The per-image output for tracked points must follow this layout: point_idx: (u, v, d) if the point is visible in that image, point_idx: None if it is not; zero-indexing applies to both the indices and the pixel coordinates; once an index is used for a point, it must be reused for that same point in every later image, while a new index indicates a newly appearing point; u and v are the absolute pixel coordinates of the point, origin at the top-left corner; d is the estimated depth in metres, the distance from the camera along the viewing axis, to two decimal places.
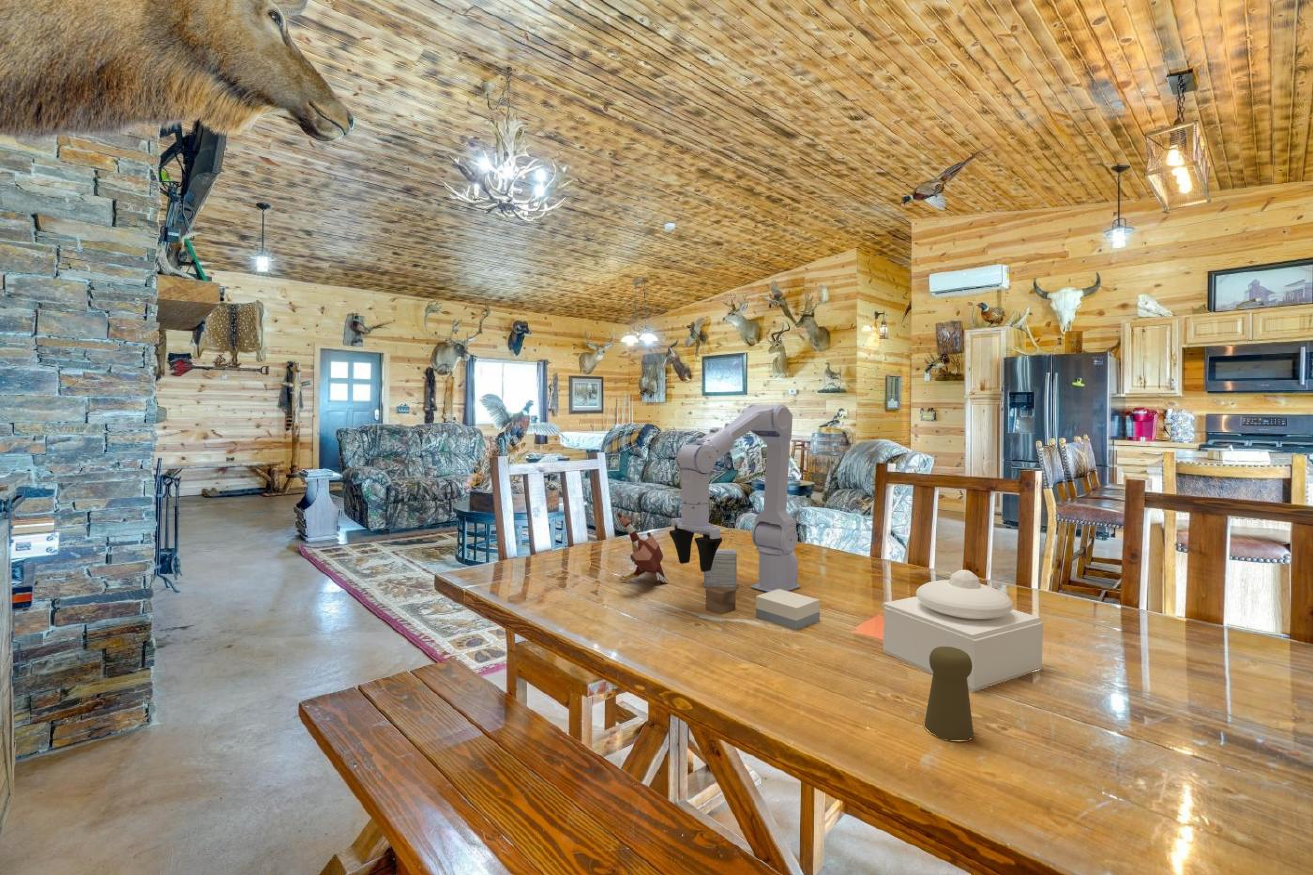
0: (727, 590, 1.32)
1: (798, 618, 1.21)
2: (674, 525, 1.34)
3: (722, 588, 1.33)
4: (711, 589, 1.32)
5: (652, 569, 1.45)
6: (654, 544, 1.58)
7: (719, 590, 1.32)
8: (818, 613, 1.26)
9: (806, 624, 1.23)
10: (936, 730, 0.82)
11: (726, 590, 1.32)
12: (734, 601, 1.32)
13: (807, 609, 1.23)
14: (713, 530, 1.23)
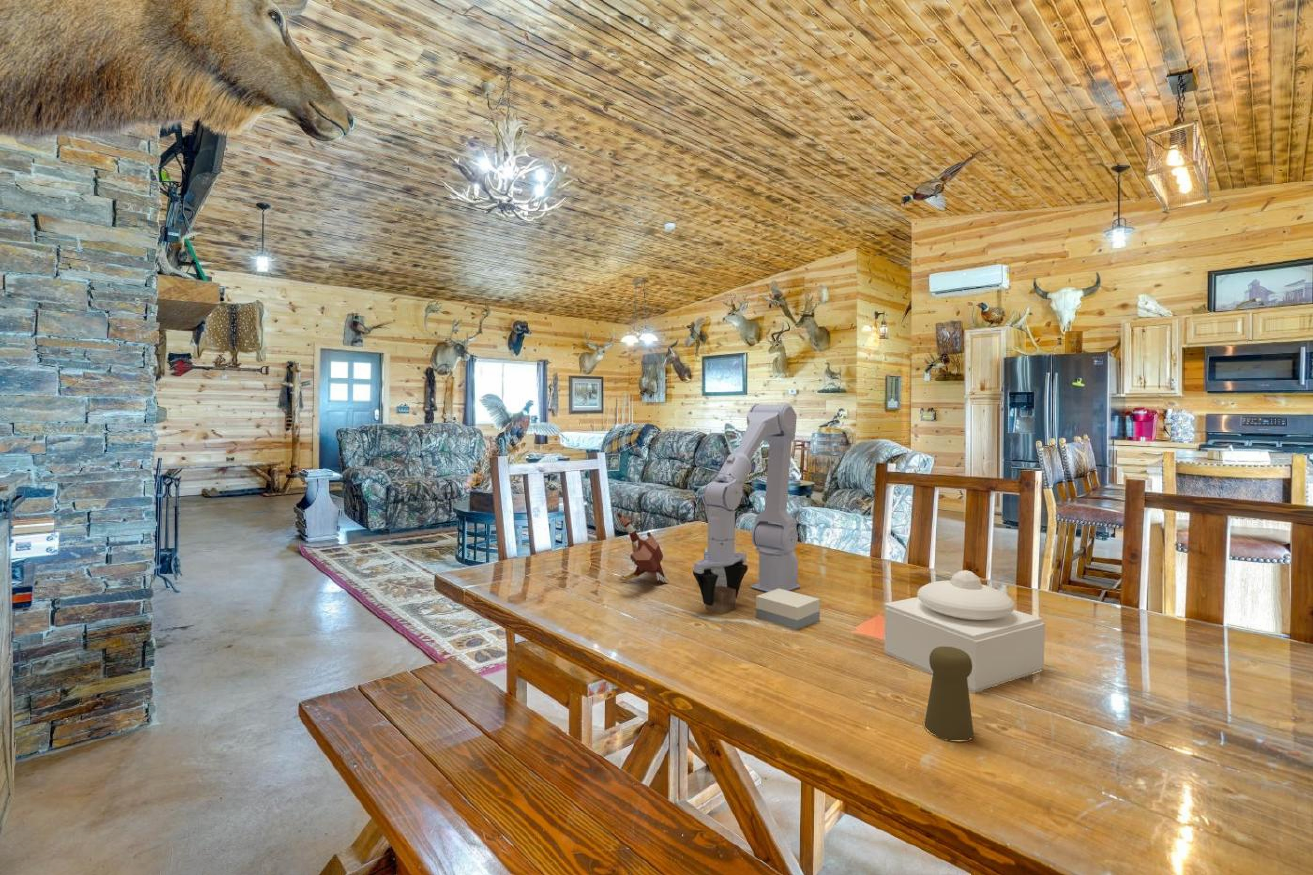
0: (727, 590, 1.32)
1: (799, 617, 1.21)
2: None
3: (722, 588, 1.33)
4: None
5: (652, 569, 1.45)
6: (654, 544, 1.58)
7: (719, 590, 1.32)
8: (818, 612, 1.26)
9: (806, 623, 1.23)
10: (936, 730, 0.82)
11: (726, 590, 1.32)
12: (734, 601, 1.32)
13: (808, 609, 1.23)
14: (694, 563, 1.28)
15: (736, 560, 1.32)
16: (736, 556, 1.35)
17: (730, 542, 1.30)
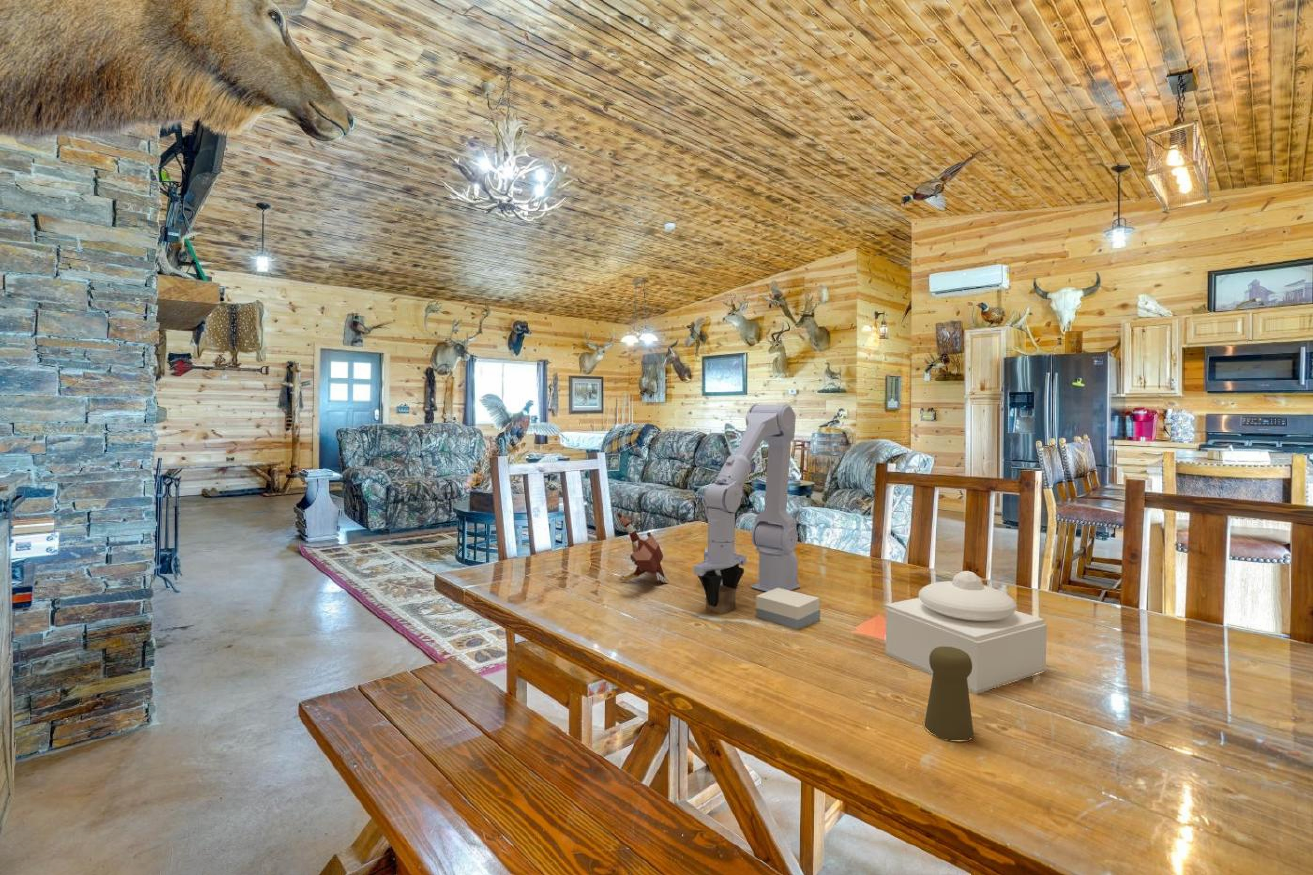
0: (727, 590, 1.32)
1: (800, 617, 1.21)
2: None
3: (722, 588, 1.33)
4: None
5: (652, 569, 1.45)
6: (654, 544, 1.58)
7: (719, 590, 1.32)
8: (818, 612, 1.26)
9: (807, 623, 1.23)
10: (936, 730, 0.82)
11: (726, 589, 1.32)
12: (734, 601, 1.32)
13: (808, 608, 1.23)
14: (694, 566, 1.28)
15: (736, 562, 1.32)
16: (736, 558, 1.35)
17: (730, 544, 1.30)
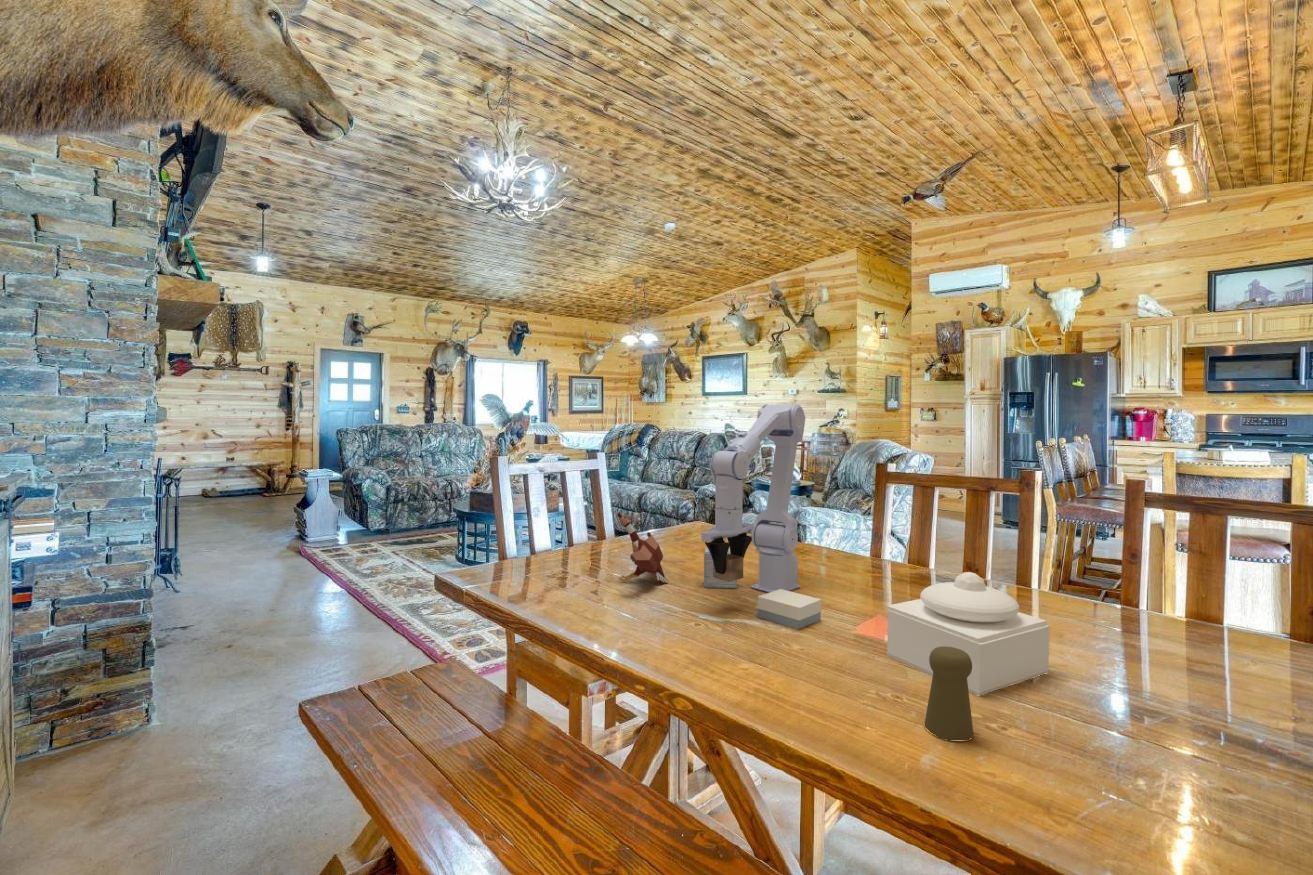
0: (735, 557, 1.31)
1: (801, 618, 1.21)
2: None
3: (729, 556, 1.32)
4: None
5: (652, 569, 1.45)
6: (654, 544, 1.58)
7: (727, 557, 1.31)
8: (819, 612, 1.26)
9: (807, 623, 1.23)
10: (936, 730, 0.82)
11: (733, 557, 1.31)
12: (742, 569, 1.31)
13: (810, 609, 1.23)
14: (702, 533, 1.27)
15: (744, 530, 1.31)
16: (744, 526, 1.34)
17: (738, 511, 1.29)
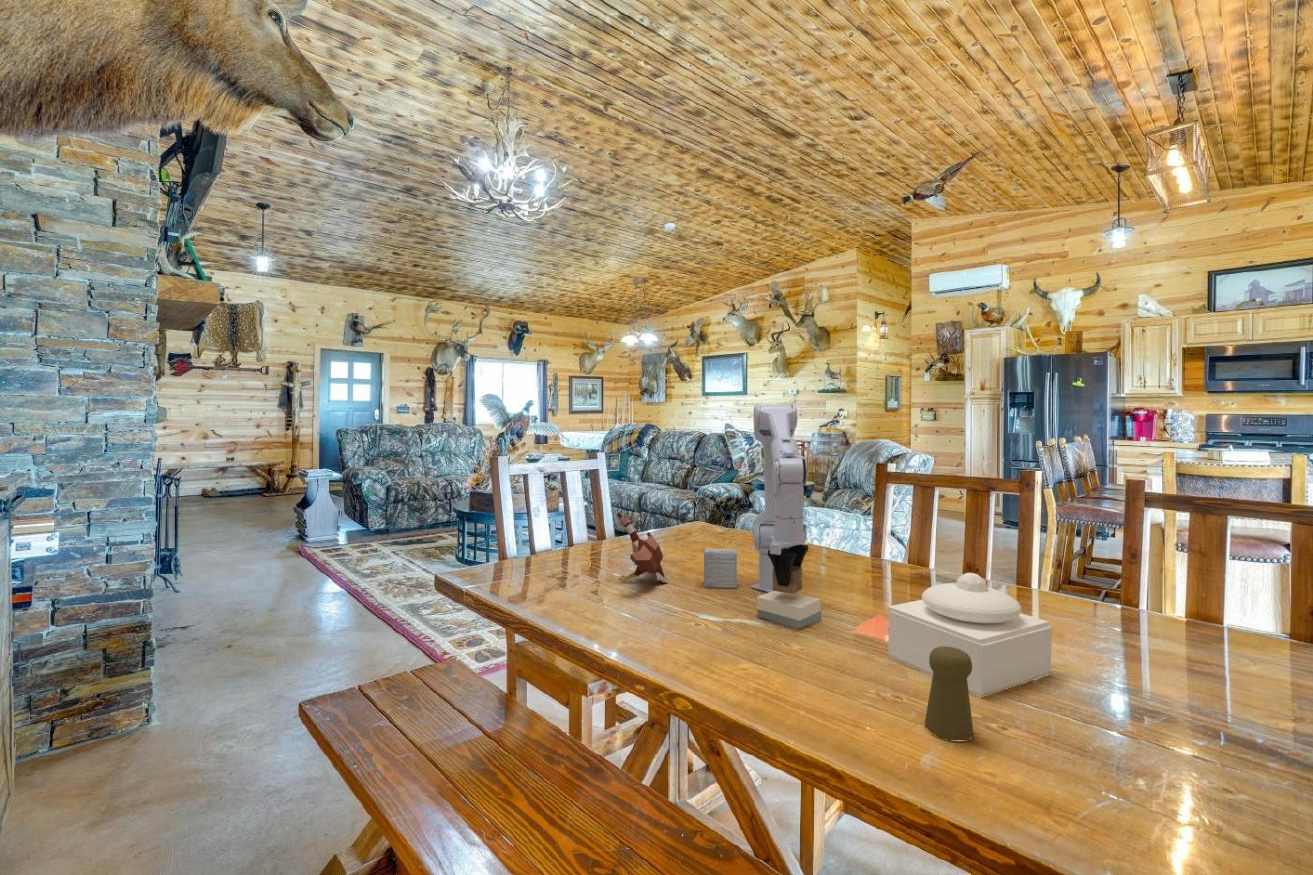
0: (795, 568, 1.26)
1: (801, 618, 1.21)
2: None
3: None
4: None
5: (652, 569, 1.45)
6: (654, 544, 1.58)
7: None
8: (819, 612, 1.26)
9: (807, 623, 1.23)
10: (936, 730, 0.82)
11: (793, 568, 1.26)
12: (801, 579, 1.27)
13: (810, 609, 1.23)
14: (771, 545, 1.21)
15: None
16: None
17: (801, 520, 1.24)
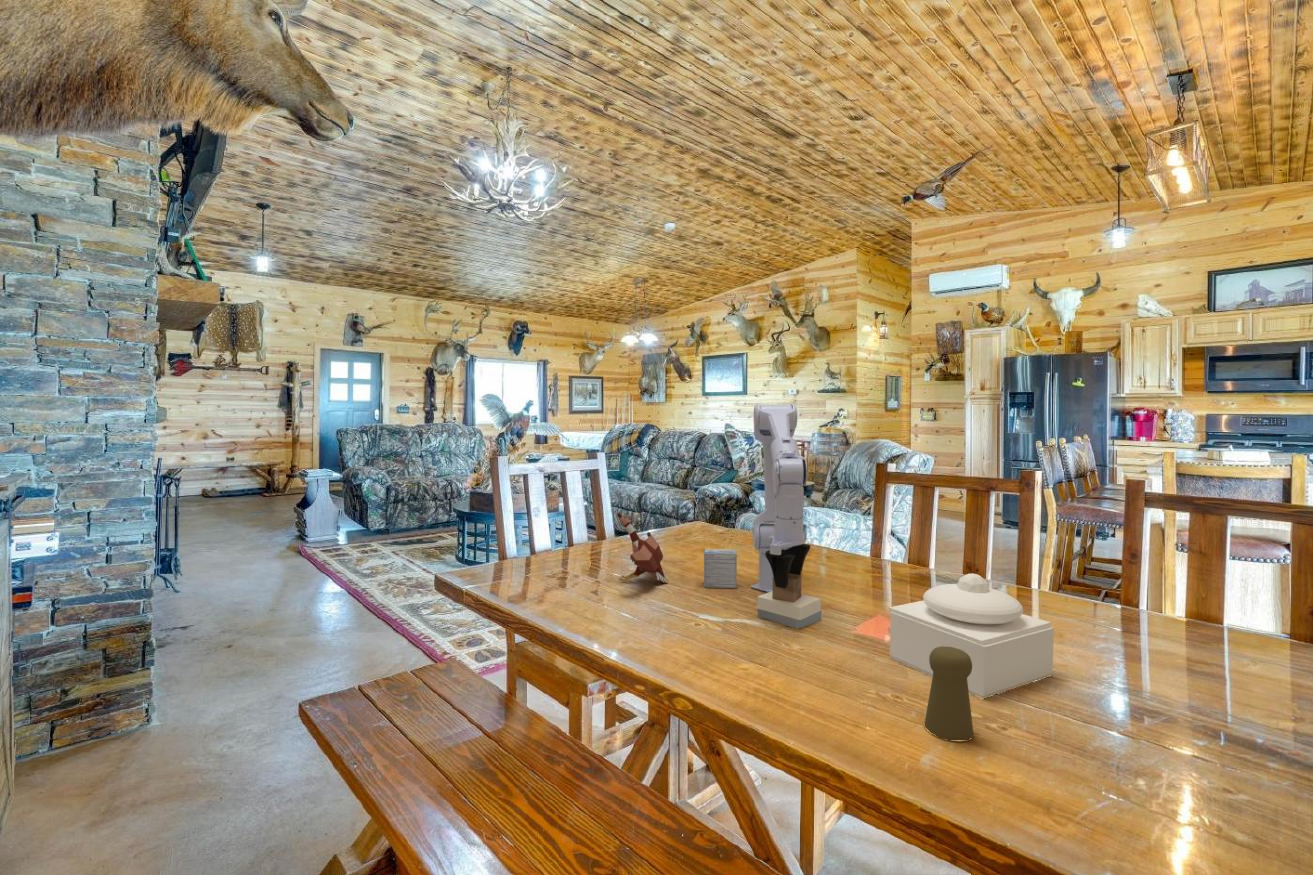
0: (795, 576, 1.26)
1: (801, 617, 1.21)
2: None
3: None
4: None
5: (652, 569, 1.45)
6: (654, 544, 1.58)
7: None
8: (820, 612, 1.26)
9: (808, 623, 1.23)
10: (936, 730, 0.82)
11: (793, 576, 1.26)
12: (800, 587, 1.27)
13: (810, 609, 1.24)
14: (771, 545, 1.21)
15: (803, 539, 1.27)
16: None
17: (801, 521, 1.24)
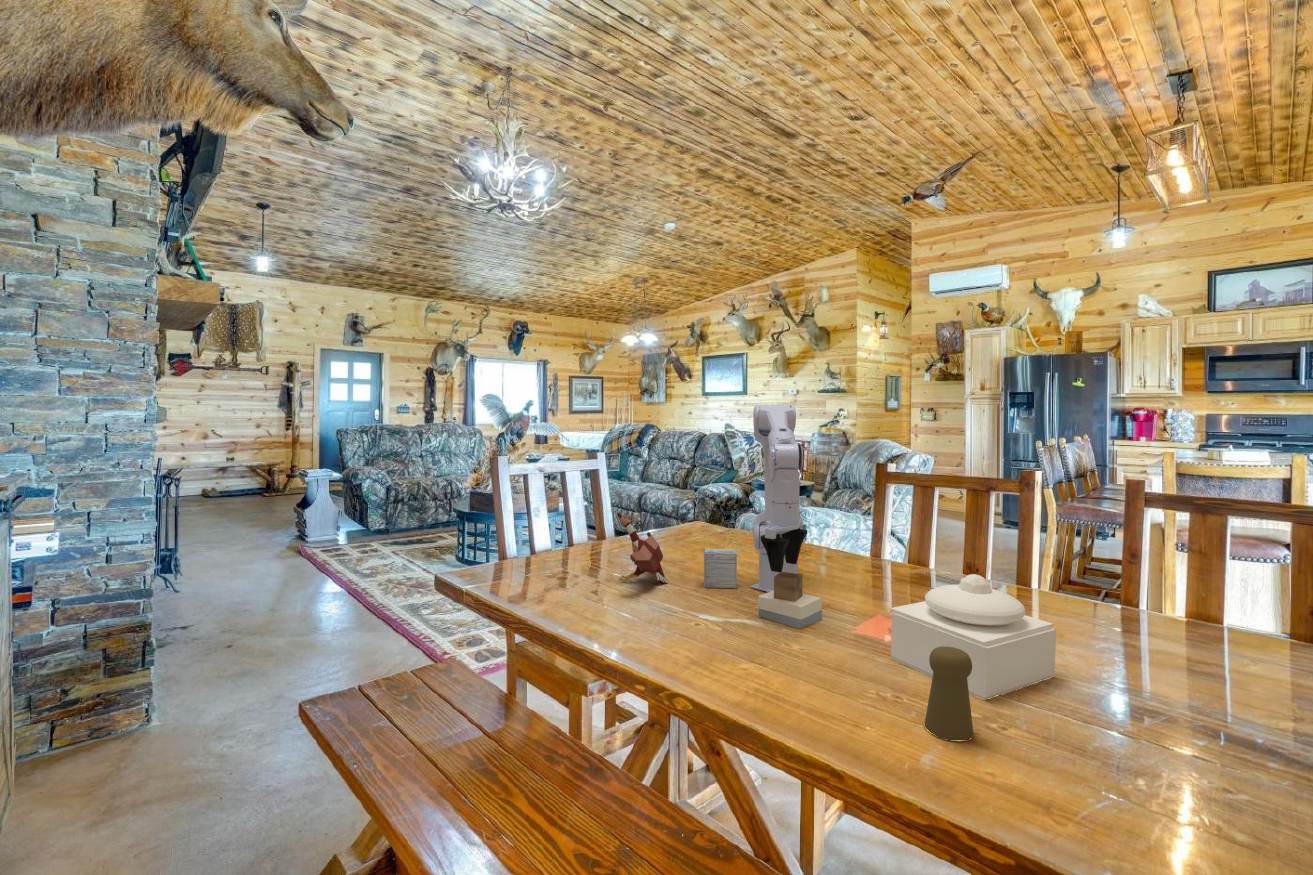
0: (796, 576, 1.27)
1: (803, 617, 1.22)
2: None
3: (789, 575, 1.27)
4: (780, 576, 1.26)
5: (652, 569, 1.45)
6: (654, 544, 1.58)
7: (789, 577, 1.26)
8: (820, 612, 1.26)
9: (809, 623, 1.24)
10: (936, 730, 0.82)
11: (794, 576, 1.27)
12: (801, 587, 1.28)
13: (811, 608, 1.24)
14: (766, 529, 1.22)
15: (800, 524, 1.28)
16: None
17: (797, 505, 1.25)
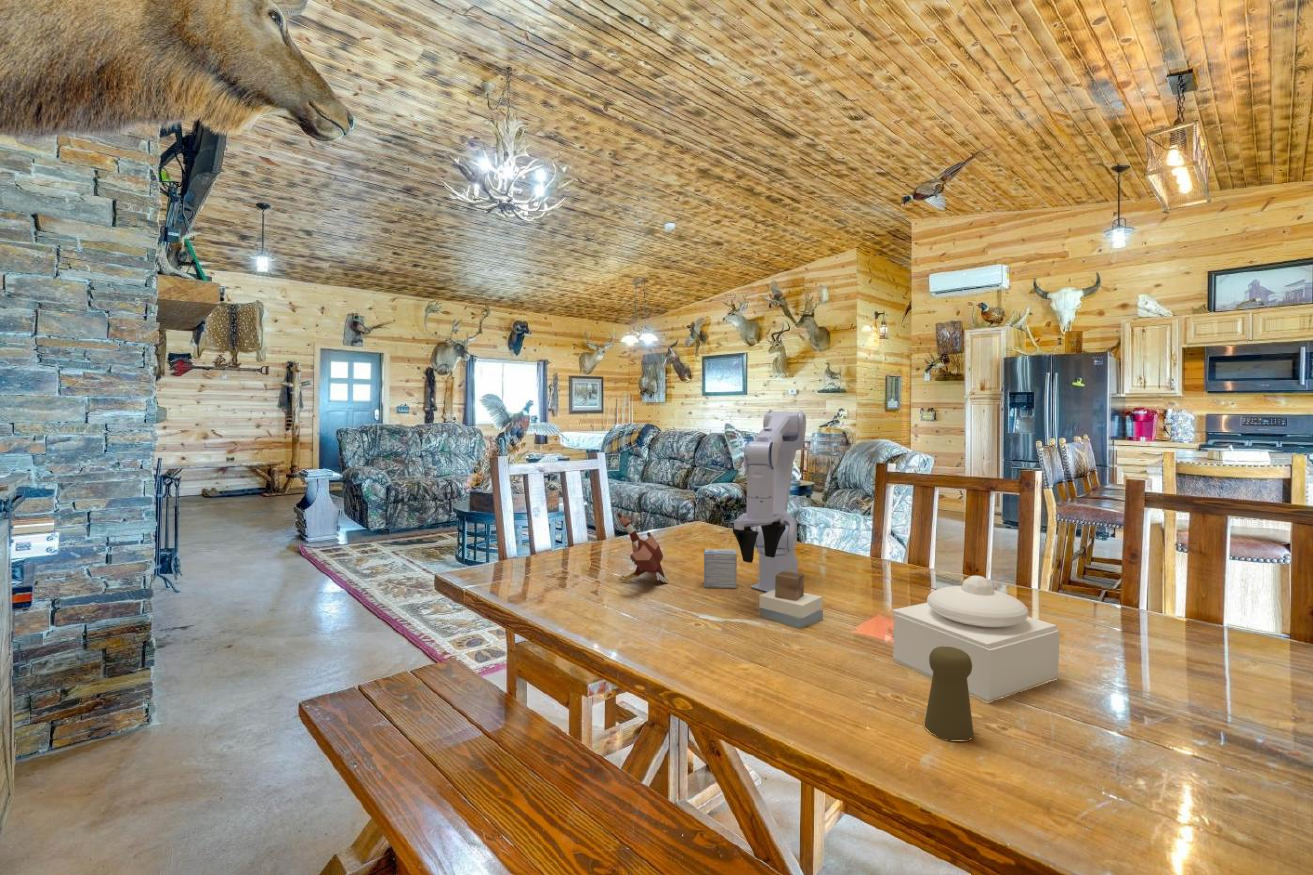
0: (797, 575, 1.27)
1: (804, 615, 1.22)
2: None
3: (790, 574, 1.27)
4: (781, 575, 1.26)
5: (652, 569, 1.45)
6: (654, 544, 1.58)
7: (790, 576, 1.26)
8: (821, 611, 1.26)
9: (809, 622, 1.24)
10: (936, 730, 0.82)
11: (796, 575, 1.27)
12: (803, 586, 1.28)
13: (812, 607, 1.24)
14: (735, 520, 1.30)
15: (775, 519, 1.34)
16: (774, 516, 1.36)
17: (769, 500, 1.32)
